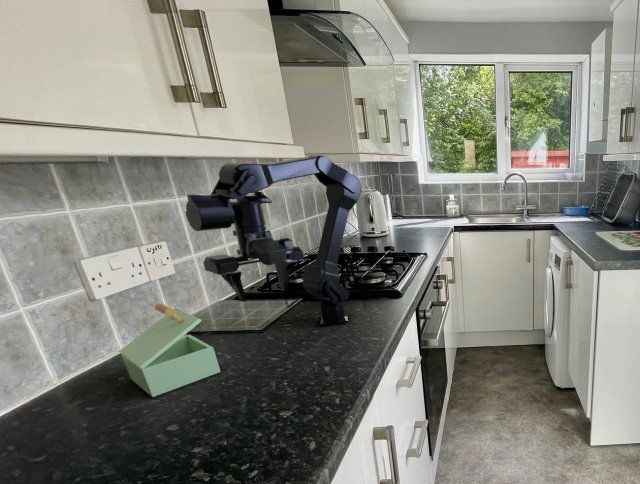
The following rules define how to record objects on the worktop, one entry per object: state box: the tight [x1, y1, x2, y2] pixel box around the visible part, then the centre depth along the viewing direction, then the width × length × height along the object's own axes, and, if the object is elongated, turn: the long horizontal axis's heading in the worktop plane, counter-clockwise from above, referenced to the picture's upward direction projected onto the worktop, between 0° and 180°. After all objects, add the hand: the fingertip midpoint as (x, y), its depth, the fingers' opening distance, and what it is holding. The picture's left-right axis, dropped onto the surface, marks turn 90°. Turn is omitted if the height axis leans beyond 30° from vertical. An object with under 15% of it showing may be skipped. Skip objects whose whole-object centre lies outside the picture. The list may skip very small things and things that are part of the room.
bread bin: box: [120, 334, 221, 398], centre depth 82 cm, size 11×11×6 cm
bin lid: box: [118, 302, 202, 369], centre depth 78 cm, size 12×11×4 cm
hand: (264, 295), depth 93 cm, fingers open, 9 cm apart
